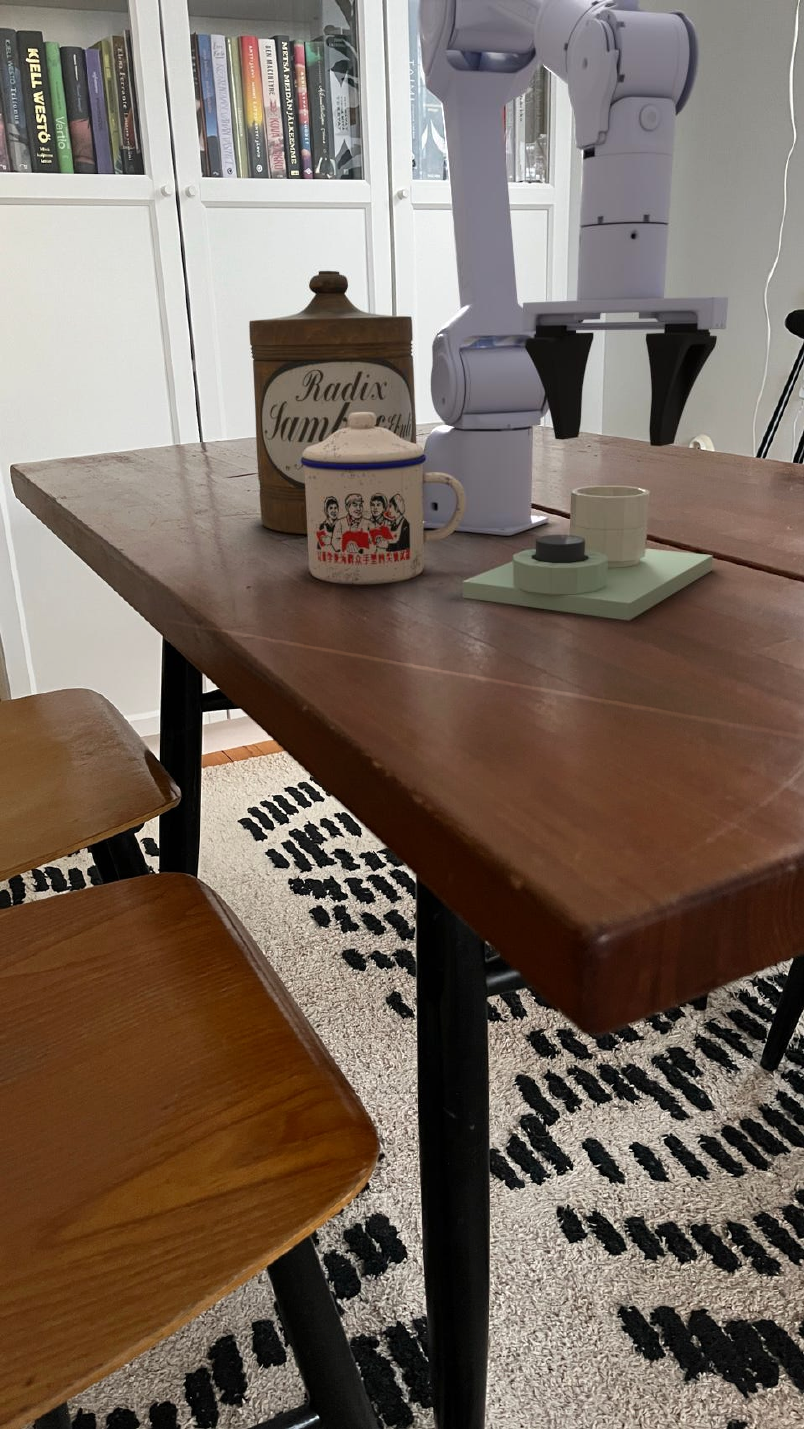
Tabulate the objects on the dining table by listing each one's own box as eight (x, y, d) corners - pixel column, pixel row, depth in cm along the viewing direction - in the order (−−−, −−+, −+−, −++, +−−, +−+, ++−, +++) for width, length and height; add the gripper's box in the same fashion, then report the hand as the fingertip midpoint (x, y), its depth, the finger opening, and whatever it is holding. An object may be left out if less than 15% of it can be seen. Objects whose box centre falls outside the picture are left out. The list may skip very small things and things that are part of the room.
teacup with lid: (302, 588, 75) (293, 419, 71) (310, 561, 84) (303, 409, 80) (469, 584, 75) (470, 416, 71) (461, 558, 84) (461, 406, 80)
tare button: (571, 569, 68) (572, 545, 67) (526, 564, 69) (527, 541, 69) (592, 560, 70) (593, 537, 70) (548, 555, 72) (549, 533, 71)
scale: (625, 623, 65) (628, 576, 64) (458, 600, 71) (458, 556, 70) (711, 571, 78) (715, 530, 77) (563, 555, 84) (564, 517, 83)
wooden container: (265, 540, 92) (247, 267, 85) (258, 512, 106) (242, 275, 98) (431, 531, 95) (428, 265, 87) (403, 505, 108) (399, 273, 101)
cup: (554, 562, 76) (556, 492, 75) (595, 550, 80) (598, 483, 78) (619, 572, 73) (623, 499, 71) (659, 559, 77) (663, 489, 75)
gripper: (756, 222, 67) (736, 442, 72) (564, 237, 76) (558, 431, 81) (704, 216, 62) (686, 452, 67) (505, 232, 71) (502, 439, 76)
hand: (612, 441), depth 74 cm, fingers open, 7 cm apart
